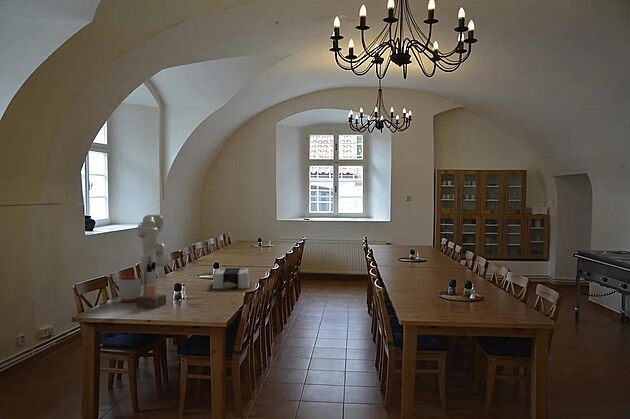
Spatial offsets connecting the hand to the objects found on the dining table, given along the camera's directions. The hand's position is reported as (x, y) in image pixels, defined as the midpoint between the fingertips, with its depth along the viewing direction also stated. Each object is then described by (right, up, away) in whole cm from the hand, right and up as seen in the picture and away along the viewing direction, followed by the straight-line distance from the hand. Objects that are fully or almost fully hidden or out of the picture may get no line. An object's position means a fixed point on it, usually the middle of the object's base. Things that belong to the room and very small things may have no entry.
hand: (151, 270), depth 344 cm
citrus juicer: (-19, -24, +15) cm, 34 cm away
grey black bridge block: (+43, -22, +76) cm, 90 cm away
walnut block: (0, -25, +1) cm, 25 cm away
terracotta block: (0, -18, 0) cm, 18 cm away
